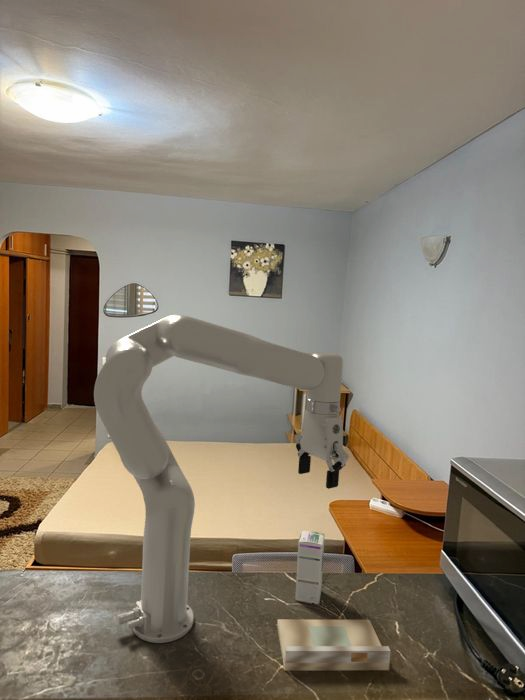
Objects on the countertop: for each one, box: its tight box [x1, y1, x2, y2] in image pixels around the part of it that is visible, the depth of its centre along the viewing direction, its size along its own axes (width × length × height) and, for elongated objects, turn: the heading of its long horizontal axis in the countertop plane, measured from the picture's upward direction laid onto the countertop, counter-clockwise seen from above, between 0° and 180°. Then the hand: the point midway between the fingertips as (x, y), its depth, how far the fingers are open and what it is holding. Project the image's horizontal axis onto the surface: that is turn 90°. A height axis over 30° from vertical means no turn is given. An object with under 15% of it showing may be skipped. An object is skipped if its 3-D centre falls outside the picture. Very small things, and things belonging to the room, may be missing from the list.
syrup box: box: [294, 530, 325, 606], centre depth 107 cm, size 6×6×14 cm
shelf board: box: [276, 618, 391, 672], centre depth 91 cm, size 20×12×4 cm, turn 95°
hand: (317, 479), depth 105 cm, fingers open, 9 cm apart
